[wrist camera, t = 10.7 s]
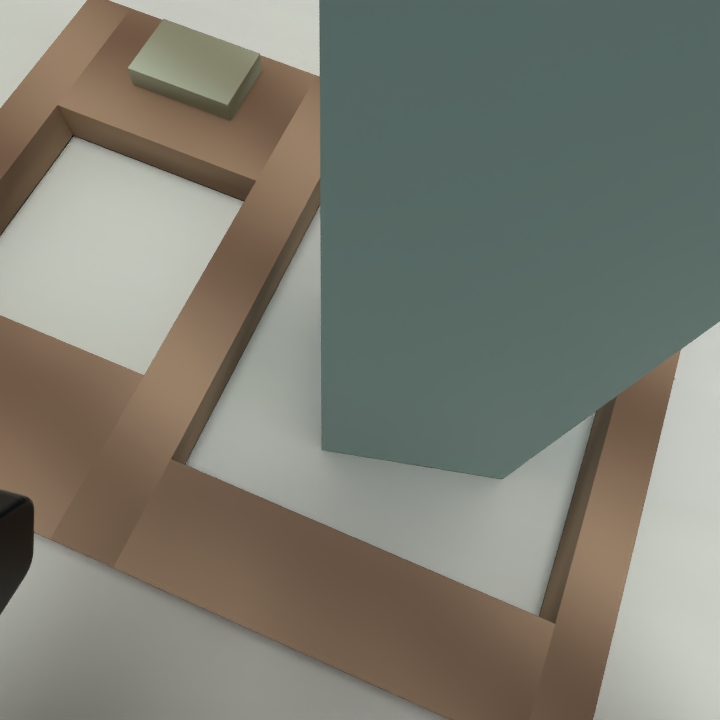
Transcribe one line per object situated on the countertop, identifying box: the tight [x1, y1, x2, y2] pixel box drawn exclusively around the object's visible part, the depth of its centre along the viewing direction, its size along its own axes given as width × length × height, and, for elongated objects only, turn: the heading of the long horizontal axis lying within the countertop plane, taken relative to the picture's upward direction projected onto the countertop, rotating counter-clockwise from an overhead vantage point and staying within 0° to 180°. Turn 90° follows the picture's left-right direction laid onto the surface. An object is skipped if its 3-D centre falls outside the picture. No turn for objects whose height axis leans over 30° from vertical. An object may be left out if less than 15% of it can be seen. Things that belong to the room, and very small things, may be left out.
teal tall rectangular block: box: [319, 0, 720, 479], centre depth 10 cm, size 4×4×15 cm
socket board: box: [0, 0, 681, 720], centre depth 16 cm, size 14×19×2 cm
